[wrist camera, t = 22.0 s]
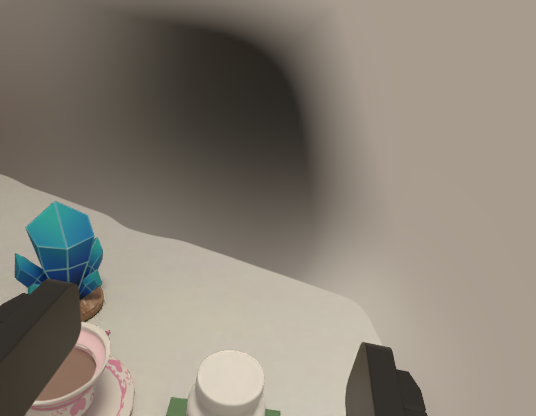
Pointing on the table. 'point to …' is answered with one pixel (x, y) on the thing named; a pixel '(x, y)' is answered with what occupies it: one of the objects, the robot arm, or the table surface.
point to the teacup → (87, 381)
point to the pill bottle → (228, 386)
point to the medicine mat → (178, 405)
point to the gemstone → (64, 255)
